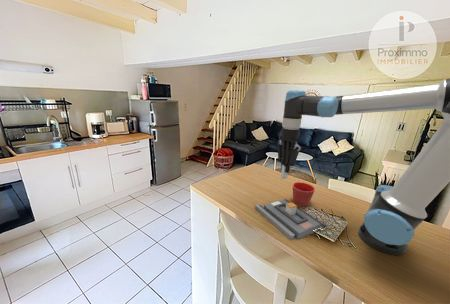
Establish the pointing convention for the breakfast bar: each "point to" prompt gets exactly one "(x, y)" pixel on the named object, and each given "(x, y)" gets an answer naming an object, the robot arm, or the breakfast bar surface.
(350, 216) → the breakfast bar surface
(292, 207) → the lever
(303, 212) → the long gray bar
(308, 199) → the flower pot
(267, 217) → the grey long bar
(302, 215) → the breaker panel
